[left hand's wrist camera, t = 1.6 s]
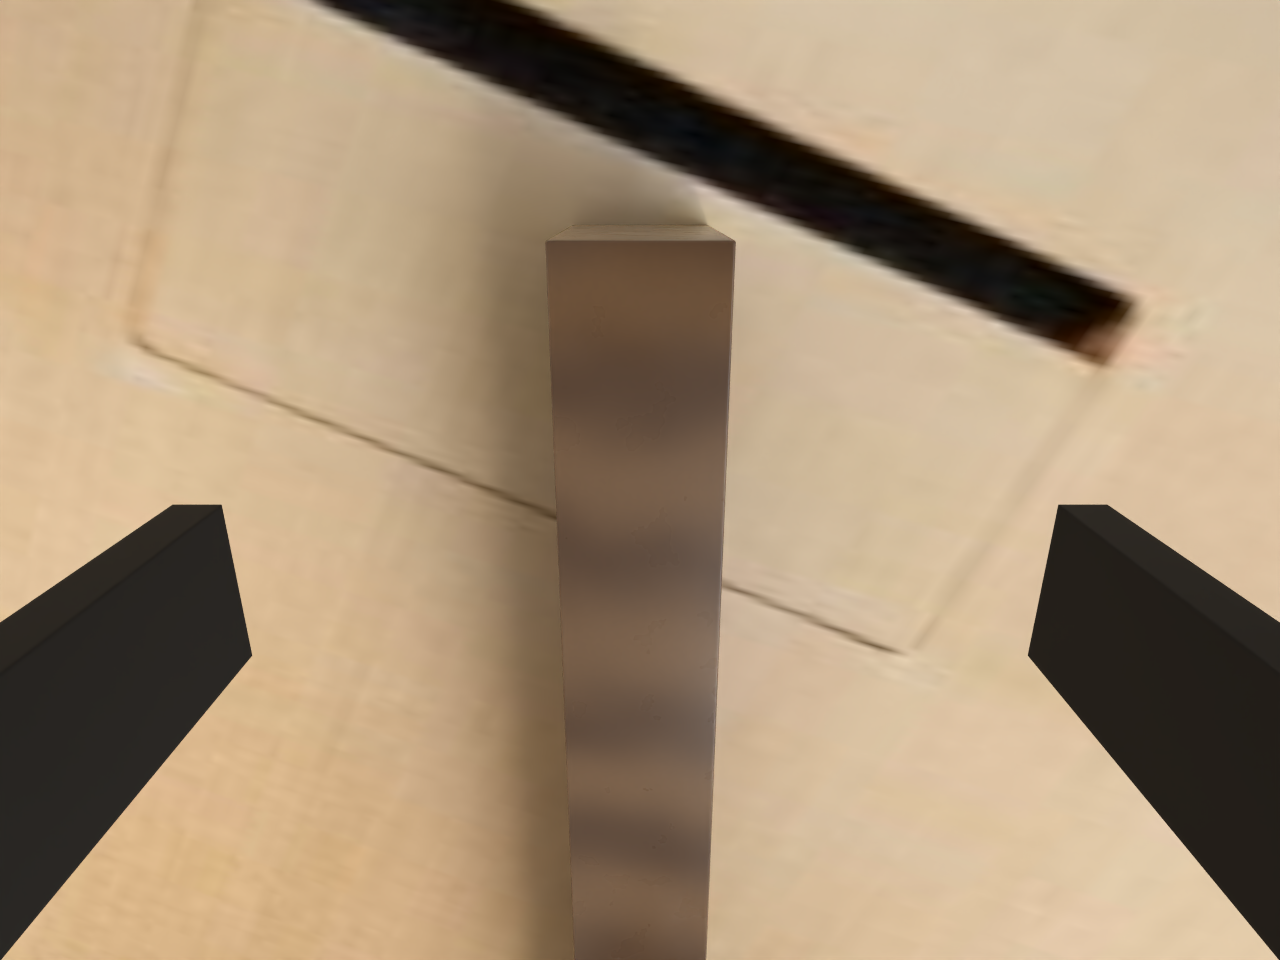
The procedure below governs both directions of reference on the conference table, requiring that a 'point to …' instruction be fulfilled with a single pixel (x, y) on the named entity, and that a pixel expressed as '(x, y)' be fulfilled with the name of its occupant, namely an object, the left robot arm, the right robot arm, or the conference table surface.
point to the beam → (640, 571)
